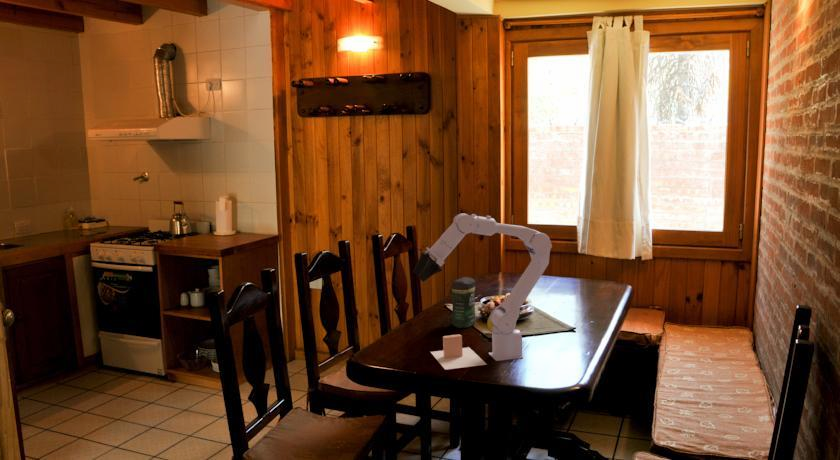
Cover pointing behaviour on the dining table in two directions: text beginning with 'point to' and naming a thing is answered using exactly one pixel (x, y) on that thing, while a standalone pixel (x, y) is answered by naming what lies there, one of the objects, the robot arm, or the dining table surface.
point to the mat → (459, 359)
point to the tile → (452, 346)
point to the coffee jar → (463, 302)
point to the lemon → (489, 324)
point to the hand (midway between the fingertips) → (417, 276)
